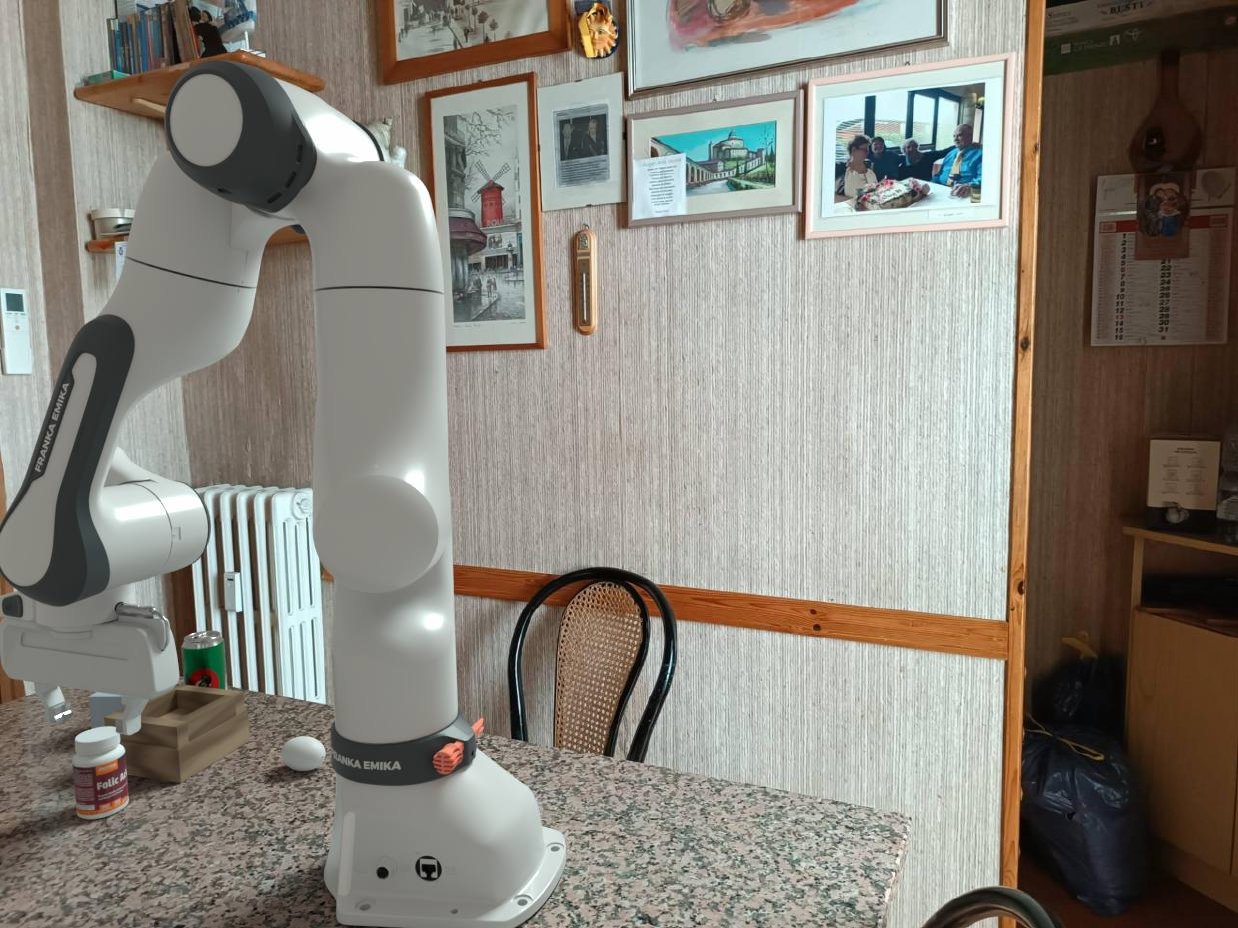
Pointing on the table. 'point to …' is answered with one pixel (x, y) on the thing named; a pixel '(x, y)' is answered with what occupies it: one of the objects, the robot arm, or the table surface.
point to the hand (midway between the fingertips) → (93, 726)
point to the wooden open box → (184, 732)
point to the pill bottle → (99, 773)
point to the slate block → (103, 707)
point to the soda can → (204, 660)
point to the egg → (303, 753)
